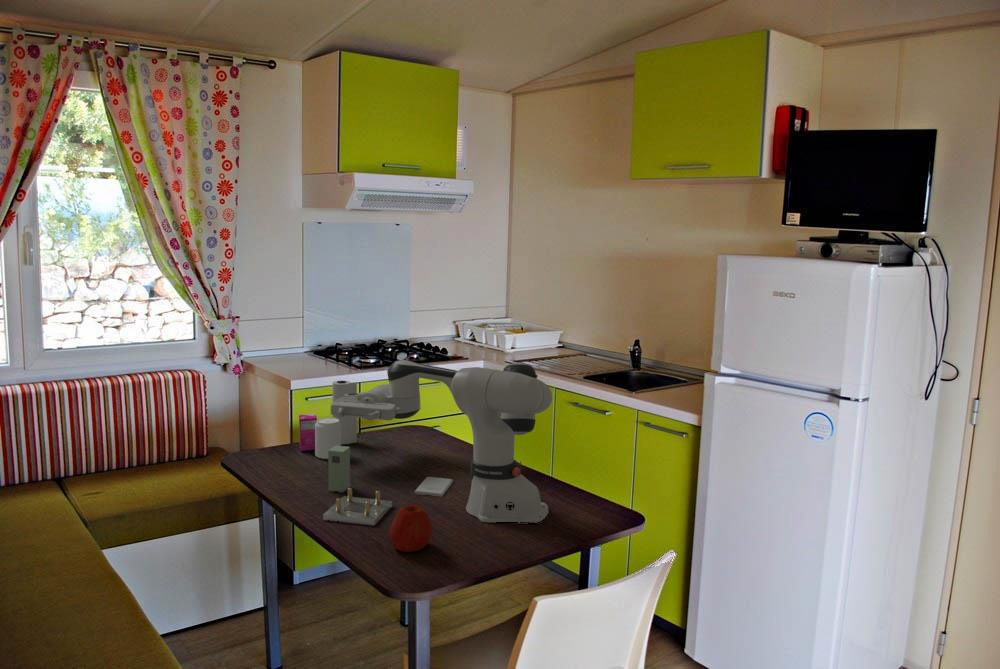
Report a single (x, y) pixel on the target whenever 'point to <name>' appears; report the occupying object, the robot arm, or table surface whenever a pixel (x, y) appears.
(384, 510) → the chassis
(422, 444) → the table surface
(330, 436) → the beverage can
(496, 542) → the table surface
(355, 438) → the paper towel roll
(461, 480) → the table surface
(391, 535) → the apple
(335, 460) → the block
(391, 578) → the table surface
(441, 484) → the external hard drive
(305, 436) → the supplement box
